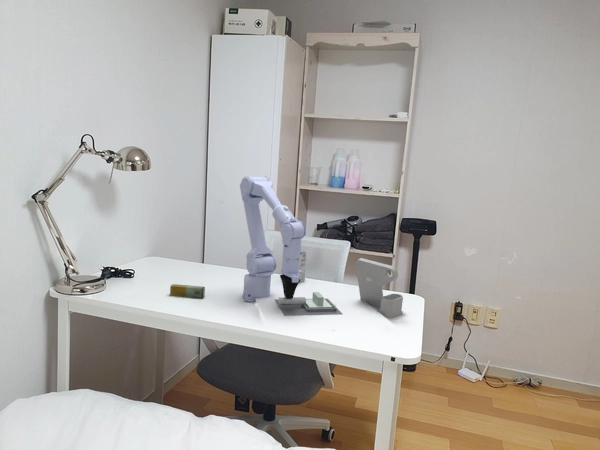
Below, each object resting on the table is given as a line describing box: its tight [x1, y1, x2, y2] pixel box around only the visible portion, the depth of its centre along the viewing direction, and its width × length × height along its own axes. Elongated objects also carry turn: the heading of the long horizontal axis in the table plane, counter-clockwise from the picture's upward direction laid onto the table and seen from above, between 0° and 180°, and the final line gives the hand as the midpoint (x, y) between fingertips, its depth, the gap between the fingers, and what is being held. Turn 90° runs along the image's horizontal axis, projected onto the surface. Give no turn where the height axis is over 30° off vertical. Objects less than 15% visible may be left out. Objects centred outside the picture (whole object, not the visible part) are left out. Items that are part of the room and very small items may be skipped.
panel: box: [273, 298, 343, 317], centre depth 158 cm, size 20×16×3 cm
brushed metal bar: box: [278, 294, 307, 304], centre depth 156 cm, size 9×2×4 cm, turn 105°
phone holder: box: [355, 257, 404, 320], centre depth 164 cm, size 17×10×18 cm, turn 46°
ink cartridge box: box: [282, 250, 307, 283], centre depth 191 cm, size 10×6×14 cm, turn 148°
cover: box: [305, 291, 332, 309], centre depth 158 cm, size 8×8×4 cm
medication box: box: [169, 283, 206, 300], centre depth 163 cm, size 12×3×4 cm, turn 86°
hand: (288, 297), depth 155 cm, fingers closed on brushed metal bar, 2 cm apart
